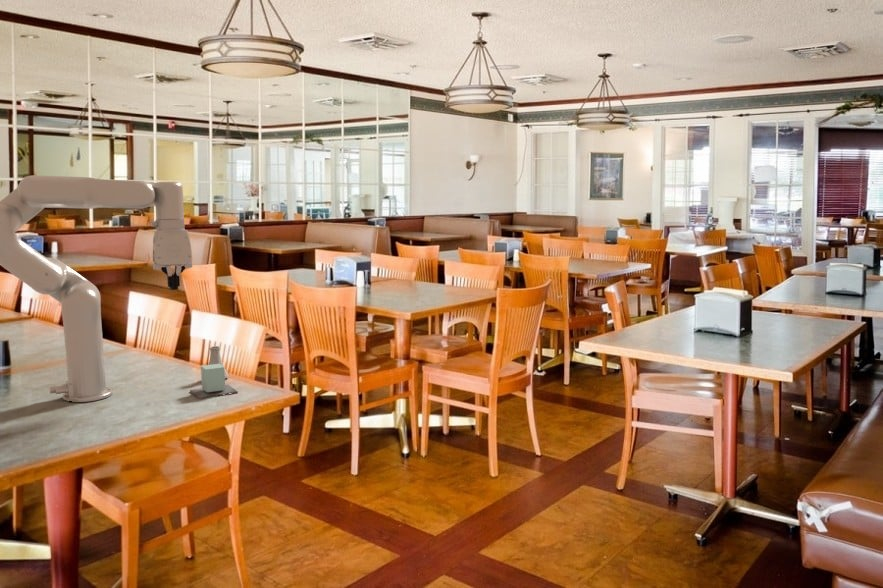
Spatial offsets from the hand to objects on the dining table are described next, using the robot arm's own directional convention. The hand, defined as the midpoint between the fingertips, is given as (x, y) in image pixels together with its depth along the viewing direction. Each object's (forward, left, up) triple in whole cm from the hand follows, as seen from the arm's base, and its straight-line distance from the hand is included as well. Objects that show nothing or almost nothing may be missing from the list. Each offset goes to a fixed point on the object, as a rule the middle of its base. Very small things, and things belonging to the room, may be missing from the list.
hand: (174, 289), depth 219 cm
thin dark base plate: (+7, -11, -29) cm, 32 cm away
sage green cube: (+7, -11, -28) cm, 31 cm away
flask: (+12, +4, -29) cm, 32 cm away
